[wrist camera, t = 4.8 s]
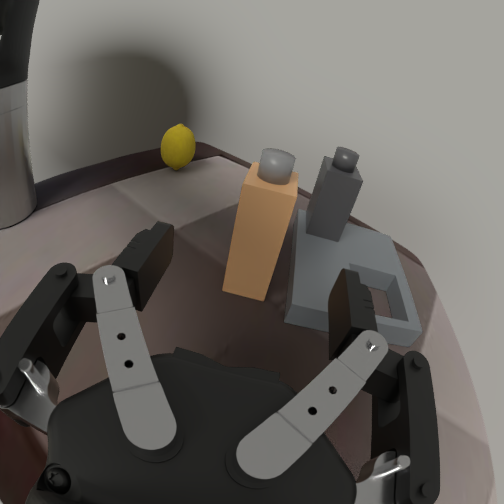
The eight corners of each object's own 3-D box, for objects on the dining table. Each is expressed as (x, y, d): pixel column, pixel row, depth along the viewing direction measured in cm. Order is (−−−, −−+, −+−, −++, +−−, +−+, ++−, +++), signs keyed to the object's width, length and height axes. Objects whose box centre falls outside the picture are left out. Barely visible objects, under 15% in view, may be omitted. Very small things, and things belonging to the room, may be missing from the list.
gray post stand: (283, 322, 26) (333, 198, 18) (293, 224, 40) (320, 137, 32) (409, 347, 26) (481, 251, 18) (383, 250, 39) (419, 172, 32)
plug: (222, 290, 28) (247, 157, 20) (233, 258, 32) (258, 140, 24) (263, 301, 28) (304, 172, 20) (269, 268, 32) (304, 152, 24)
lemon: (152, 168, 46) (155, 122, 41) (177, 161, 49) (182, 118, 45) (173, 180, 43) (178, 130, 39) (199, 171, 47) (205, 126, 42)
